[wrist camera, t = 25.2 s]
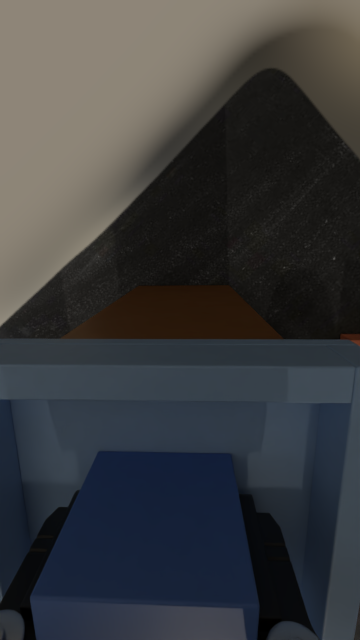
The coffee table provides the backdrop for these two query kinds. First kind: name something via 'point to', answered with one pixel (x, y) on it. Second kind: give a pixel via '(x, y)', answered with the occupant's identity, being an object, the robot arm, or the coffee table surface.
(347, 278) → the coffee table surface
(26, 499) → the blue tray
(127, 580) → the blue block
